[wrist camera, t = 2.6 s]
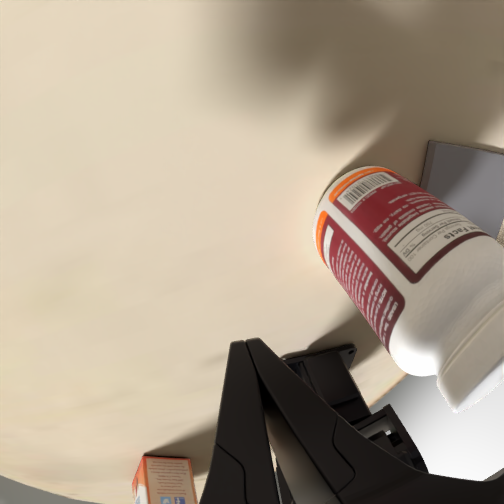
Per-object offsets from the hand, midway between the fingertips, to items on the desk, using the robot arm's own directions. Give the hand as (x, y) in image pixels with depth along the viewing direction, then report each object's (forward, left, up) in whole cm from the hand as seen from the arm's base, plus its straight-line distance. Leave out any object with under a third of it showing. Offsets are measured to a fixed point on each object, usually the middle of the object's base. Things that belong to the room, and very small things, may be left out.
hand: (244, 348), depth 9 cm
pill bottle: (0, -8, -7) cm, 11 cm away
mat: (0, -17, -7) cm, 19 cm away
